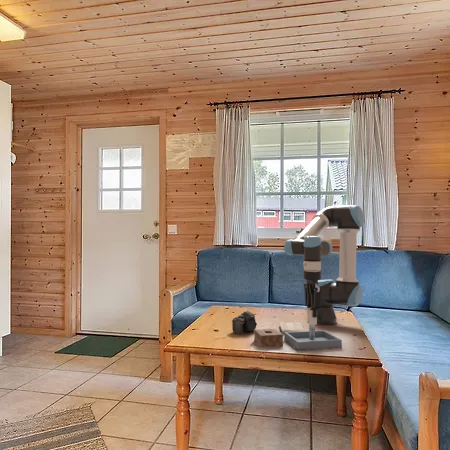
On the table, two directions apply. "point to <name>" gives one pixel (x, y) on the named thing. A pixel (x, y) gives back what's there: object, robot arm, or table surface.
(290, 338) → the tray
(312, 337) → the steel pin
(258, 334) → the block
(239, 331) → the camera
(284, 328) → the washcloth
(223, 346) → the table surface
